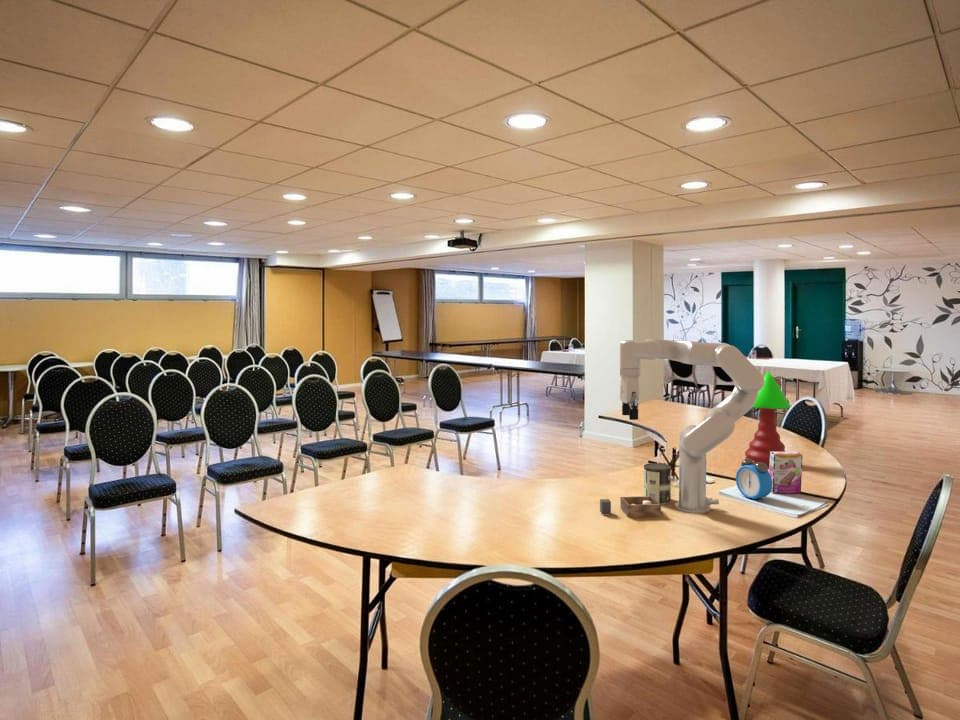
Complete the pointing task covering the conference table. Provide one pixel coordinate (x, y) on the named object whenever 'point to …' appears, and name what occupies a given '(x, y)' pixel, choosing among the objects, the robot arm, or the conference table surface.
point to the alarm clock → (753, 479)
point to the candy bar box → (786, 472)
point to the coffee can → (658, 482)
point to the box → (640, 506)
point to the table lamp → (767, 422)
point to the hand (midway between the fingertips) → (630, 417)
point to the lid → (605, 506)
